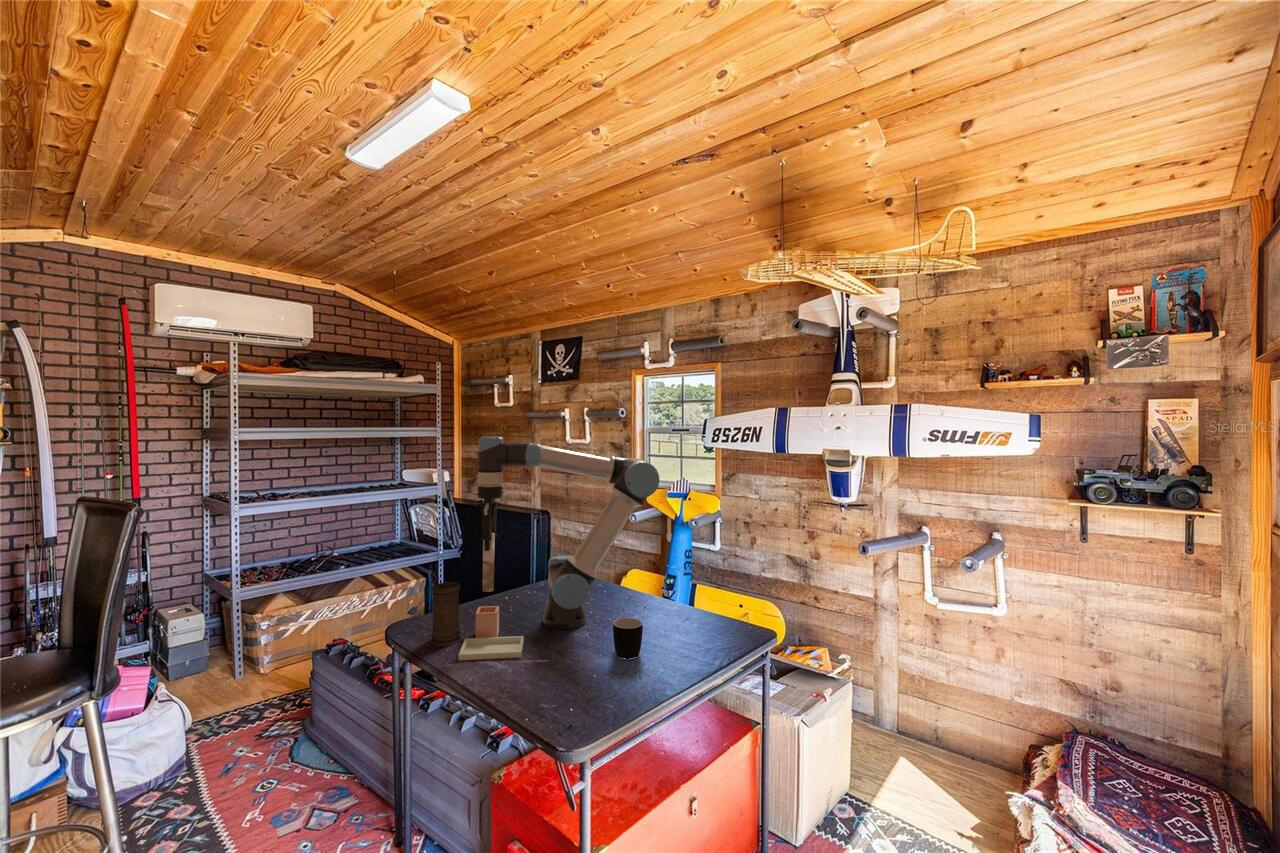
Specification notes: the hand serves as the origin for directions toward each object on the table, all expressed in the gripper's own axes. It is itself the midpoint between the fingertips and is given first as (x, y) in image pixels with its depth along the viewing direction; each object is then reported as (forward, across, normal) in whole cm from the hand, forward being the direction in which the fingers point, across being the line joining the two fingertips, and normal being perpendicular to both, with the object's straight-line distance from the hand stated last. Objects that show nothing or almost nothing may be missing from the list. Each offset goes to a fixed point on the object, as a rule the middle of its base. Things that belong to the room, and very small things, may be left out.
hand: (488, 558), depth 176 cm
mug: (+27, +11, +43) cm, 52 cm away
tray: (+27, +7, +3) cm, 28 cm away
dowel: (+10, 0, 0) cm, 10 cm away
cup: (+27, -5, -1) cm, 27 cm away
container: (+27, -2, -13) cm, 30 cm away
